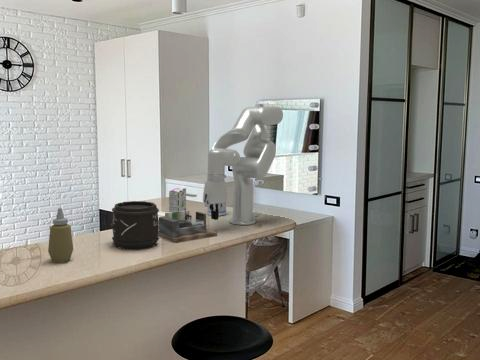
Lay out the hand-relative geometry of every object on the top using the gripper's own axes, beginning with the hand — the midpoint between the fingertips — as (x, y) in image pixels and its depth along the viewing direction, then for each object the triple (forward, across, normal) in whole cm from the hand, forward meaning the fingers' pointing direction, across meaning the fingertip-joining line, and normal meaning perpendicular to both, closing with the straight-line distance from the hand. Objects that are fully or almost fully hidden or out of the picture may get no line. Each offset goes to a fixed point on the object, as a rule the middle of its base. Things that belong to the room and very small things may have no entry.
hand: (214, 219), depth 209 cm
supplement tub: (+5, -22, -28) cm, 36 cm away
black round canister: (+6, +40, +1) cm, 40 cm away
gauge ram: (+3, +11, -2) cm, 11 cm away
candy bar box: (+6, +6, -20) cm, 22 cm away
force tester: (+5, +15, 0) cm, 16 cm away
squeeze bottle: (+6, +70, +6) cm, 70 cm away
